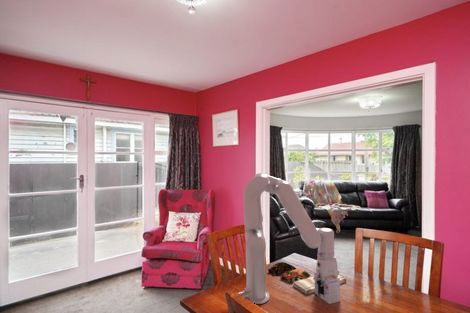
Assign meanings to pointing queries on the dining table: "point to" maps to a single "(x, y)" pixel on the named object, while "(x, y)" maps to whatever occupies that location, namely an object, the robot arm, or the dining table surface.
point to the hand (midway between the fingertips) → (327, 291)
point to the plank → (311, 284)
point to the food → (287, 272)
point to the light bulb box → (330, 290)
